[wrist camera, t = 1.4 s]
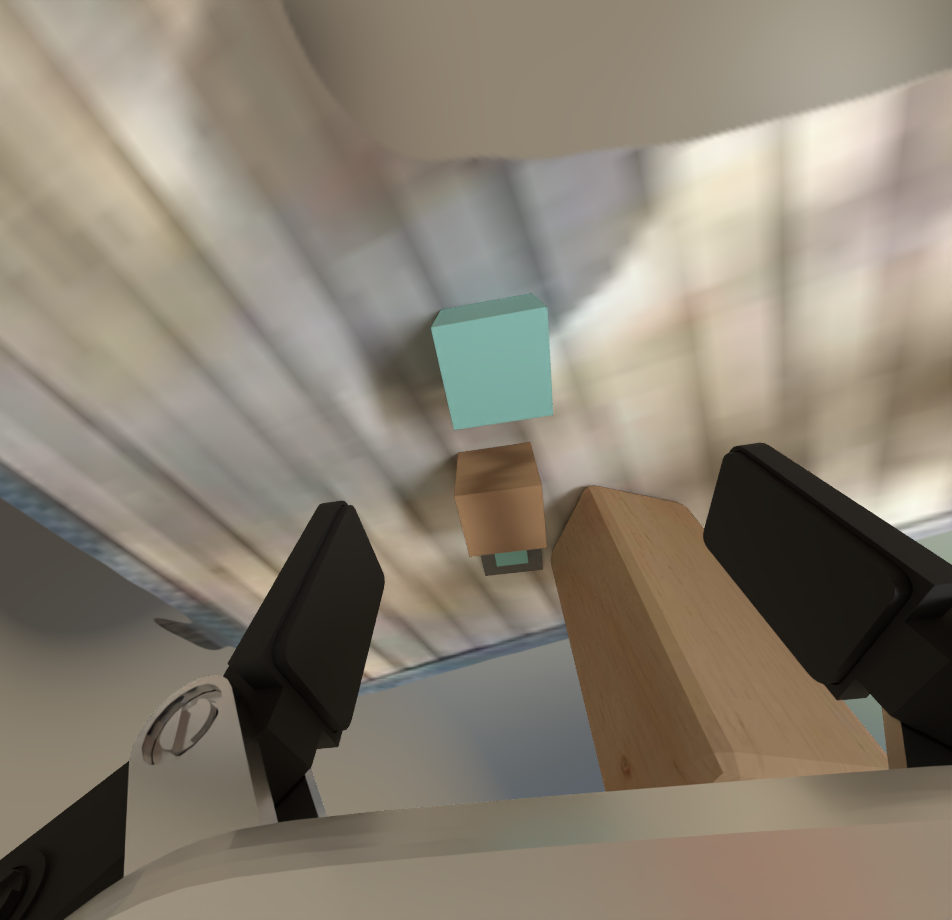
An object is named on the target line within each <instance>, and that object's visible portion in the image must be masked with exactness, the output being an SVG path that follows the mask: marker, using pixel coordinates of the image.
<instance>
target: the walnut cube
mask: <svg viewBox="0 0 952 920" xmlns="http://www.w3.org/2000/svg"><path fill="white" fill-rule="evenodd" d="M454 498H455V501H456V505H457V509H458V513H459V517H460V521H461V525H462V529H463V533H464V537H465V541H466V545H467V549H468V553H469V557H472V556H480V555H489V554H497V553H506V552H515V551H523V550H532V549H540V548H547V542H546V530H545V518H544V505H543V493H542V484H541V480H540V476H539V473H538V469H537V466H536V462H535V458H534V455H533V451H532V447H531V444H530V442H527V443H521V444H514V445H507V446H500V447H493V448H486V449H479V450H472V451H466V452H459V453H458V460H457V471H456V482H455V494H454Z"/></svg>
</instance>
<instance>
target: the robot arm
mask: <svg viewBox="0 0 952 920" xmlns="http://www.w3.org/2000/svg"><path fill="white" fill-rule="evenodd" d="M703 540H704V543H705V545H706V547H707V548H708V550H709V551H710V552H711V553H712V555H713V556H714V557H715V558H716V560H717V561H718V562H719V563H720V565H721V566H722V567H723V568H724V570H725V571H726V572H727V573H728V575H729V576H730V577H731V578H732V580H733V581H734V582H735V583H736V584H737V586H738V587H739V588H740V589H741V591H742V592H743V593H744V594H745V596H746V597H747V598H748V599H749V601H750V602H751V603H752V604H753V606H754V607H755V608H756V609H757V611H758V612H759V613H760V614H761V616H762V617H763V618H764V619H765V621H766V622H767V623H768V624H769V626H770V627H771V628H772V629H773V631H774V632H775V633H776V634H777V636H778V637H779V638H780V639H781V641H782V642H783V643H784V644H785V646H786V647H787V648H788V649H789V651H790V652H791V653H792V654H793V656H794V657H795V658H796V659H797V661H798V662H799V663H800V664H801V666H802V667H803V668H804V669H805V671H806V672H807V673H808V674H809V675H810V676H811V677H812V678H813V679H814V680H815V681H817V682H819V683H821V684H824V685H825V687H826V688H827V689H828V690H829V692H830V693H831V694H832V695H833V696H834V698H835V699H836V700H847V699H858V698H866V697H867V696H868V695H869V694H871V695H872V696H873V697H874V698H875V700H876V701H877V702H878V703H879V704H880V705H881V706H882V712H883V721H884V730H885V739H886V748H887V757H888V766H889V770H877V771H864V772H851V773H837V774H824V775H811V776H798V777H785V778H772V779H759V780H745V781H733V782H721V783H708V784H696V785H683V786H671V787H658V788H646V789H634V790H621V791H609V792H597V793H585V794H573V795H561V796H548V797H536V798H525V799H514V800H502V801H490V802H478V803H467V804H455V805H443V806H432V807H420V808H408V809H397V810H385V811H376V812H366V813H357V814H348V815H339V816H330V817H327V814H326V811H325V808H324V805H323V802H322V799H321V797H320V794H319V791H318V788H317V785H316V782H315V779H314V776H313V773H312V771H311V766H312V763H313V760H314V756H315V753H316V750H317V749H321V748H332V747H338V746H339V742H340V738H341V734H342V731H343V730H346V729H347V728H348V727H349V725H350V723H351V720H352V716H353V712H354V708H355V704H356V700H357V696H358V692H359V688H360V684H361V680H362V675H363V671H364V667H365V663H366V659H367V655H368V651H369V647H370V643H371V639H372V635H373V630H374V626H375V622H376V618H377V614H378V610H379V606H380V602H381V598H382V594H383V590H384V583H385V580H384V574H383V571H382V569H381V567H380V564H379V562H378V560H377V557H376V555H375V553H374V551H373V548H372V546H371V544H370V542H369V539H368V537H367V535H366V532H365V530H364V528H363V526H362V523H361V521H360V519H359V517H358V514H357V512H356V510H355V508H354V507H353V506H352V505H348V504H347V503H346V502H345V501H336V502H329V503H322V504H320V505H319V506H318V507H317V509H316V511H315V513H314V514H313V516H312V518H311V520H310V521H309V523H308V525H307V527H306V528H305V530H304V532H303V533H302V535H301V537H300V539H299V540H298V542H297V544H296V546H295V547H294V549H293V551H292V553H291V554H290V556H289V558H288V559H287V561H286V563H285V565H284V566H283V568H282V570H281V572H280V573H279V575H278V577H277V579H276V580H275V582H274V584H273V585H272V587H271V589H270V591H269V592H268V594H267V596H266V598H265V599H264V601H263V603H262V605H261V606H260V608H259V610H258V612H257V613H256V615H255V617H254V618H253V620H252V622H251V624H250V625H249V627H248V629H247V631H246V632H245V634H244V636H243V638H242V639H241V641H240V643H239V644H238V646H237V648H236V650H235V651H234V653H233V655H232V657H231V659H230V660H229V662H228V665H229V667H228V669H227V670H226V672H225V674H224V676H223V677H222V676H220V675H208V676H205V677H202V678H199V679H196V680H194V681H192V682H190V683H189V684H187V685H185V686H183V687H181V688H180V689H179V690H177V691H176V692H175V693H174V694H172V695H171V696H170V697H168V698H167V699H166V700H165V701H164V702H163V703H162V704H161V705H160V706H159V707H158V708H157V709H156V710H155V711H154V712H153V713H152V715H151V716H150V717H149V719H148V720H147V721H146V723H145V724H144V725H143V727H142V728H141V730H140V732H139V734H138V736H137V738H136V740H135V741H134V744H133V746H132V751H131V755H130V759H129V761H128V762H127V763H126V764H124V765H123V766H122V767H120V768H119V769H118V770H116V771H115V772H114V773H113V774H111V775H110V776H109V777H107V778H106V779H105V780H104V781H102V782H101V783H100V784H98V785H97V786H96V787H94V788H93V789H92V790H91V791H89V792H88V793H87V794H85V795H84V796H83V797H82V798H80V799H79V800H78V801H76V802H75V803H74V804H72V805H71V806H70V807H69V808H67V809H66V810H65V811H63V812H62V813H61V814H59V815H58V816H57V817H56V818H54V819H53V820H52V821H51V822H49V823H48V824H47V825H45V826H44V827H43V828H41V829H40V830H39V831H37V832H36V833H35V834H33V835H32V836H31V837H30V838H28V839H27V840H26V841H24V842H23V843H22V844H20V845H19V846H18V847H17V848H15V849H14V850H13V851H11V852H10V853H9V854H7V855H6V856H5V857H4V858H2V859H1V860H0V920H952V565H951V564H950V563H948V562H946V561H945V560H944V559H942V558H940V557H939V556H937V555H936V554H934V553H933V552H931V551H930V550H928V549H927V548H925V547H924V546H922V545H921V544H919V543H917V542H916V541H914V540H913V539H911V538H910V537H908V536H907V535H905V534H904V533H902V532H901V531H899V530H898V529H896V528H895V527H893V526H891V525H890V524H888V523H887V522H885V521H884V520H882V519H881V518H879V517H878V516H876V515H875V514H873V513H872V512H870V511H868V510H867V509H865V508H864V507H862V506H861V505H859V504H858V503H856V502H855V501H853V500H852V499H850V498H849V497H847V496H846V495H844V494H842V493H841V492H839V491H838V490H836V489H835V488H833V487H832V486H830V485H829V484H827V483H826V482H824V481H823V480H821V479H819V478H818V477H816V476H815V475H813V474H812V473H810V472H809V471H807V470H806V469H804V468H803V467H801V466H800V465H798V464H796V463H795V462H793V461H792V460H790V459H789V458H787V457H786V456H784V455H783V454H781V453H780V452H778V451H777V450H775V449H774V448H772V447H770V446H769V445H767V444H765V443H755V444H748V445H741V446H736V447H733V448H732V449H731V450H730V452H729V453H728V454H726V455H725V456H724V458H723V461H722V465H721V468H720V472H719V476H718V480H717V483H716V487H715V491H714V494H713V498H712V502H711V506H710V509H709V513H708V517H707V520H706V524H705V528H704V532H703Z"/></svg>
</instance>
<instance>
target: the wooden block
mask: <svg viewBox="0 0 952 920" xmlns="http://www.w3.org/2000/svg"><path fill="white" fill-rule="evenodd" d="M703 532H704V528H703V527H702V526H701V525H700V523H699V522H698V521H697V520H696V518H695V517H694V516H693V515H692V513H691V512H690V511H689V510H688V509H687V508H686V507H685V506H683V505H681V504H679V503H677V502H672V501H667V500H663V499H658V498H653V497H648V496H643V495H638V494H634V493H629V492H624V491H619V490H614V489H609V488H604V487H600V486H595V485H594V486H588V487H587V488H586V489H585V490H584V491H583V493H582V495H581V497H580V499H579V501H578V503H577V505H576V507H575V509H574V511H573V513H572V514H571V516H570V518H569V520H568V522H567V524H566V526H565V528H564V530H563V532H562V534H561V536H560V538H559V540H558V542H557V544H556V546H555V548H554V550H553V552H552V554H551V565H552V569H553V573H554V578H555V582H556V586H557V590H558V594H559V598H560V603H561V607H562V611H563V615H564V619H565V624H566V628H567V632H568V636H569V640H570V645H571V649H572V653H573V657H574V661H575V665H576V669H577V674H578V678H579V682H580V687H581V691H582V695H583V699H584V703H585V707H586V712H587V716H588V720H589V724H590V728H591V732H592V737H593V741H594V745H595V749H596V753H597V757H598V762H599V766H600V770H601V775H602V778H603V783H604V787H605V791H606V792H609V791H621V790H634V789H646V788H658V787H671V786H683V785H696V784H708V783H721V782H733V781H745V780H759V779H772V778H785V777H798V776H811V775H824V774H837V773H851V772H864V771H877V770H889V766H888V757H887V754H886V753H885V752H884V750H883V749H882V748H881V747H880V746H879V744H878V743H877V742H876V741H875V739H874V738H873V737H872V736H871V734H870V733H869V732H868V731H867V729H866V728H865V727H864V726H863V725H862V724H861V722H860V721H859V720H858V718H857V717H856V716H855V715H854V714H853V712H852V711H851V710H850V709H849V707H848V706H847V705H846V704H845V702H844V701H843V700H836V699H835V698H834V696H833V695H832V694H831V693H830V692H829V690H828V689H827V688H826V687H825V685H824V684H821V683H819V682H817V681H815V680H814V679H813V678H812V677H811V676H810V675H809V674H808V673H807V672H806V671H805V669H804V668H803V667H802V666H801V664H800V663H799V662H798V661H797V659H796V658H795V657H794V656H793V654H792V653H791V652H790V651H789V649H788V648H787V647H786V646H785V644H784V643H783V642H782V641H781V639H780V638H779V637H778V636H777V634H776V633H775V632H774V631H773V629H772V628H771V627H770V626H769V624H768V623H767V622H766V621H765V619H764V618H763V617H762V616H761V614H760V613H759V612H758V611H757V609H756V608H755V607H754V606H753V604H752V603H751V602H750V601H749V599H748V598H747V597H746V596H745V594H744V593H743V592H742V591H741V589H740V588H739V587H738V586H737V584H736V583H735V582H734V581H733V580H732V578H731V577H730V576H729V575H728V573H727V572H726V571H725V570H724V568H723V567H722V566H721V565H720V563H719V562H718V561H717V560H716V558H715V557H714V556H713V555H712V553H711V552H710V551H709V550H708V548H707V547H706V545H705V543H704V540H703Z"/></svg>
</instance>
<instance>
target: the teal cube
mask: <svg viewBox="0 0 952 920" xmlns="http://www.w3.org/2000/svg"><path fill="white" fill-rule="evenodd" d="M431 331H432V335H433V340H434V344H435V348H436V353H437V357H438V362H439V366H440V371H441V375H442V379H443V384H444V388H445V393H446V397H447V401H448V406H449V410H450V415H451V419H452V424H453V428H454V430H458V429H464V428H471V427H477V426H484V425H491V424H497V423H504V422H510V421H517V420H524V419H530V418H537V417H543V416H550V415H553V403H552V385H551V366H550V348H549V329H548V311H547V306H546V305H545V304H543V303H542V302H541V301H540V300H539V299H537V298H536V297H535V296H534V295H533V294H531V293H530V294H524V295H519V296H514V297H508V298H503V299H497V300H492V301H486V302H481V303H476V304H470V305H465V306H459V307H454V308H448V309H443V310H440V312H439V314H438V316H437V318H436V319H435V321H434V323H433V325H432V326H431Z"/></svg>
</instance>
